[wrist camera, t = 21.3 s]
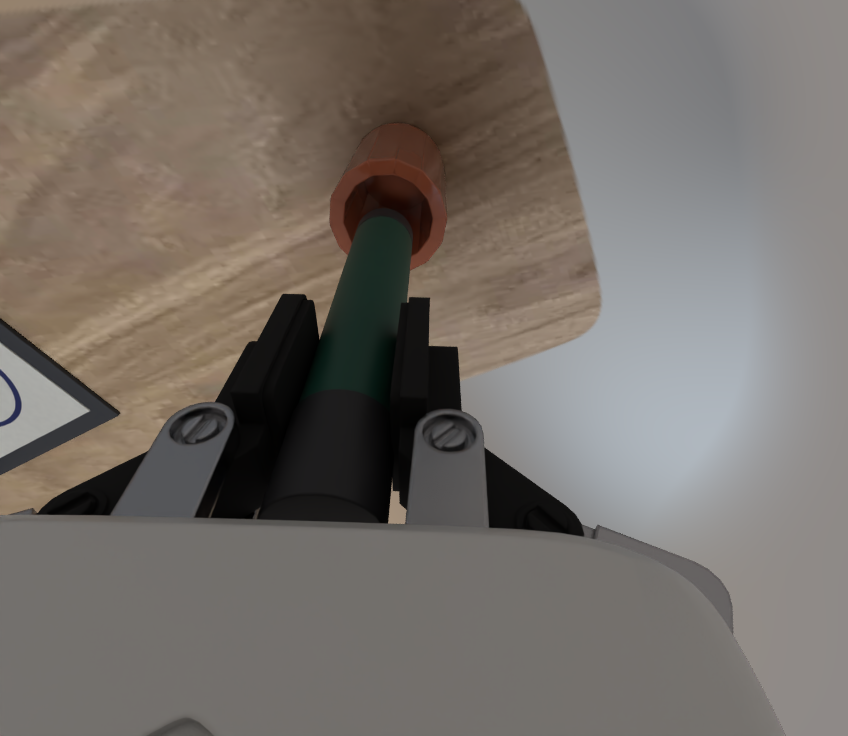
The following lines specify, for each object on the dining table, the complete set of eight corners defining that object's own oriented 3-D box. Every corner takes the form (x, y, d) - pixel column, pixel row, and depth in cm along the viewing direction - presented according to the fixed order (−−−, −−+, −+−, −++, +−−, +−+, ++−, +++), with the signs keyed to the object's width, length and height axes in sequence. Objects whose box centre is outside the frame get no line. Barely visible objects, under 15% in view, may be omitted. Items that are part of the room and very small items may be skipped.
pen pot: (334, 153, 24) (304, 197, 19) (416, 102, 23) (410, 134, 17) (383, 232, 27) (369, 291, 22) (460, 190, 26) (466, 242, 20)
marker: (343, 223, 18) (227, 517, 8) (394, 195, 18) (336, 478, 7) (376, 271, 19) (309, 577, 9) (425, 246, 19) (410, 548, 9)
